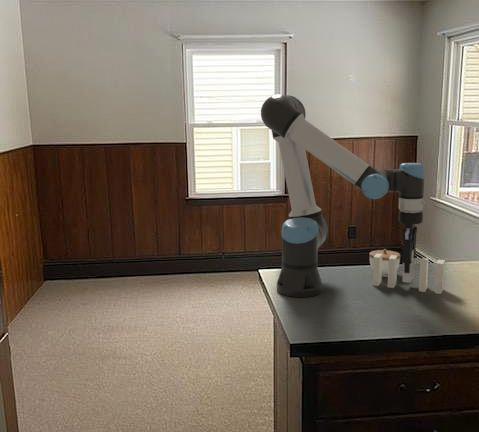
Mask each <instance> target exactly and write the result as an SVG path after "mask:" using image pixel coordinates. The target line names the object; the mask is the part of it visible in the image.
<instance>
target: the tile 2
mask: <svg viewBox="0 0 479 432" xmlns="http://www.w3.org/2000/svg"><path fill="white" fill-rule="evenodd" d="M397 277H398V270H397V255H391V256H390V257H389V263H388V277H387V288H391V289H394V288H395V287H396V285H397Z"/></svg>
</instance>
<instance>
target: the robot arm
mask: <svg viewBox="0 0 479 432" xmlns="http://www.w3.org/2000/svg"><path fill="white" fill-rule="evenodd" d="M260 118H261V120H262V123H263V124H264V125H265V126H266V128H268V129H270V130H271V135H272V139H273V140H274V141H276V142H277V143H278V148H279V152H280V157H281V158H280V159H281V161H282V162H281V163H282V167H283V173H284V178H285V183H286V188H287V191H288V197H289V201H290V207H291V211H290V212H289V213H288V219H286V220H285V221H284V222H283V223H282V226H281V230H280V231H281V269H280V272H279V275H278V278H277V281H276V291H277V292H278V293H279V294H281V295H283V296H287V297H294V298H309V297H314V296H317V295H320V294H322V292H323V282H322V281H323V280H322V277H321V275H320V272H319V269H318V255H319V254H318V249H319V248H320V247H321V246H322V245H323V244H324V243H325V241H326V240H327V238H328V232H329V231H328V230H329V229H328V228H329V227H328V224H327V222H326V220H325V219H324V217H323V211H322V208H321V207H319V206H318V205H317V204H316V198H315V194H314V193H315V192H314V187H313V183H312V176H311V173H310V167H309V162H308V158H307V157H308V156H307V153H309V154H311V155H312V156H314V157H315V158H316V159H318V160H319V161H320V162H322V163H323V164H325V165H326V166H327V167H329V168H330V169H332V170H333V171H335V173H337V174H339V175H341V176H342V178H343V179H345V180H347V181H349V182H350V183H351V184H352V185H354V186H355V187H357V188H358V189H359V190H361V191H362V193H363V194H364V196H365V197H367V198H368V199H371V200H377V199H381V198H383V197H384V196H385V195H387V193H398V194H399V195H398V210H399V211H398V219H397V221H398V222H399V223H400V224H404V228H402V256H401V257H402V259H401V260H400V263H402V282H403V283H408V282H410V283H412V281H411V278H412V261H411V259H412V250H414V256H413V279H414V278H415V259H417V258H418V255H416V254H417V252H416V250H417V248H416V247H417V246H416V245H417V234H418V233H417V232H418V227H417V225H420V224H422V223H423V219H424V217H423V214H424V213H423V209H424V205H425V204H426V201H425V200H424V195H425V194H424V191H425V166H424V165H423V164H422V163H419V162H402V163H401V164H399V168H397V169H387V168H385V169H384V168H383V169H382V168H379V169H378V168H374V167H373V166H371V165H370V164H368V163H367V162H365V161H364V160H363V159H361V158H360V157H359V156H357V155H356V154H354V153H353V152H352V151H350V150H348V149H347V148H346V147H344V146H343V145H342V144H340V143H339V142H337V141H336V140H335V139H333V138H332V137H330V136H329V135H328V134H326V133H324V132H323V131H322V130H321V129H320V128H317V126H314V124H312V123H310V122H309V121H308V120H306V108H305V106H304V104H303V103H302V101H301V100H299V98H297V97H295V96H293V95H289V94H287V95H284V94H275V95H274V94H273V95H271V96H270V97H268V98H267V99H265V101H264V102H263V103H262V105H261V109H260Z"/></svg>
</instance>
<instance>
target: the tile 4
mask: <svg viewBox="0 0 479 432" xmlns="http://www.w3.org/2000/svg"><path fill="white" fill-rule="evenodd" d="M429 261H430V259H429V258H428V257H427V258H425V257H421V259H420V261H419V277H418V279H419V280H418V292H420V293H421V292H422V293H425V292H426V291H427V289H428V278H429V276H428V274H429Z"/></svg>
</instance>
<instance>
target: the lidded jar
mask: <svg viewBox="0 0 479 432" xmlns="http://www.w3.org/2000/svg"><path fill="white" fill-rule="evenodd" d="M376 254H383V256H382V278H385V277H386V278H388V263H389V257H390V256H391V255H397V271H398V269H399V268H400V263H401V254H400V253H399V252H398V251H393V250H387V249H386V248H383V249H380V250H379V249H378V250H372V251H370V252H369V264H370V265H369V266H370V268H371V270H372V271H373V257H374V256H375V255H376Z"/></svg>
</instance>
